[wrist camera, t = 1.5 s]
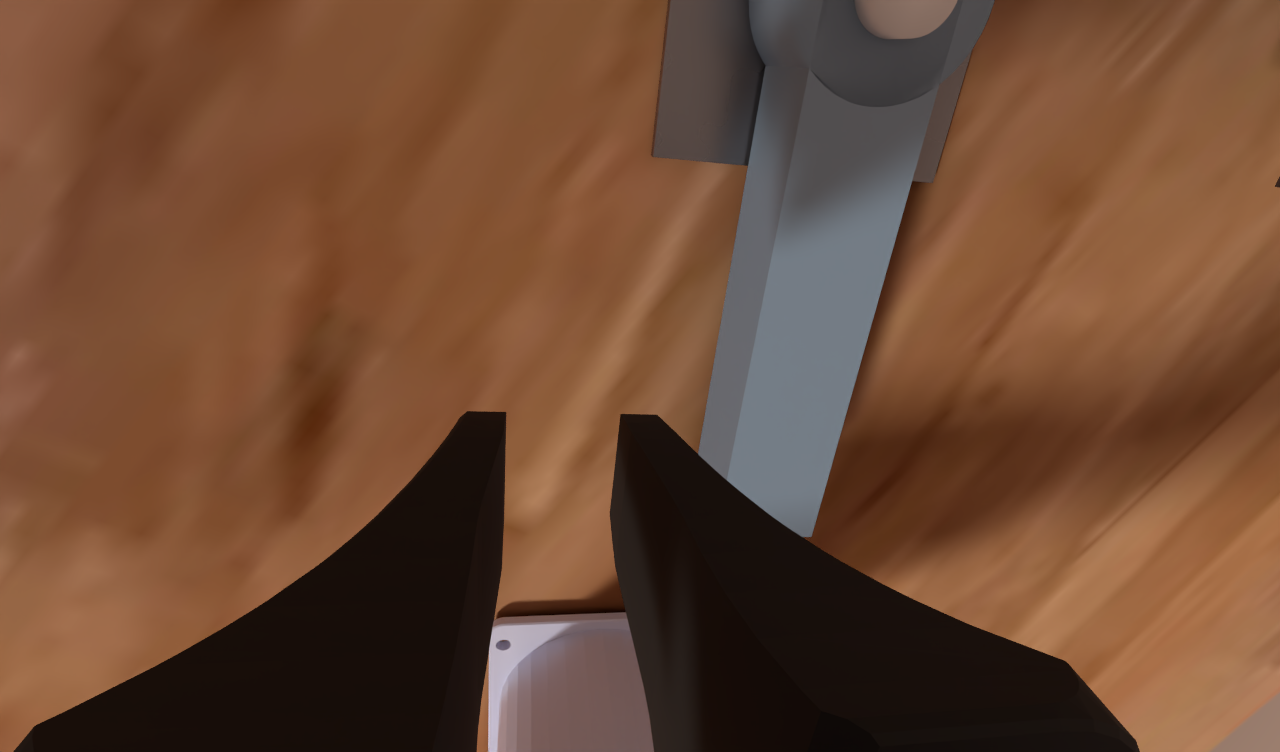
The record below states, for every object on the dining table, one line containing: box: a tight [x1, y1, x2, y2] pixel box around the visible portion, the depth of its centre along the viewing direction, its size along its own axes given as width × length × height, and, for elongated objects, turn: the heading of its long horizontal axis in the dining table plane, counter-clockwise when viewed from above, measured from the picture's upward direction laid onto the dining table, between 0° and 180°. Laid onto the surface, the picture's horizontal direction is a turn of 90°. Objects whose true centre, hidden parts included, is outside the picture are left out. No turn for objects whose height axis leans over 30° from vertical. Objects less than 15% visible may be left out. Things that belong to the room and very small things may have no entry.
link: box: [698, 0, 995, 537], centre depth 16 cm, size 16×4×4 cm, turn 174°
